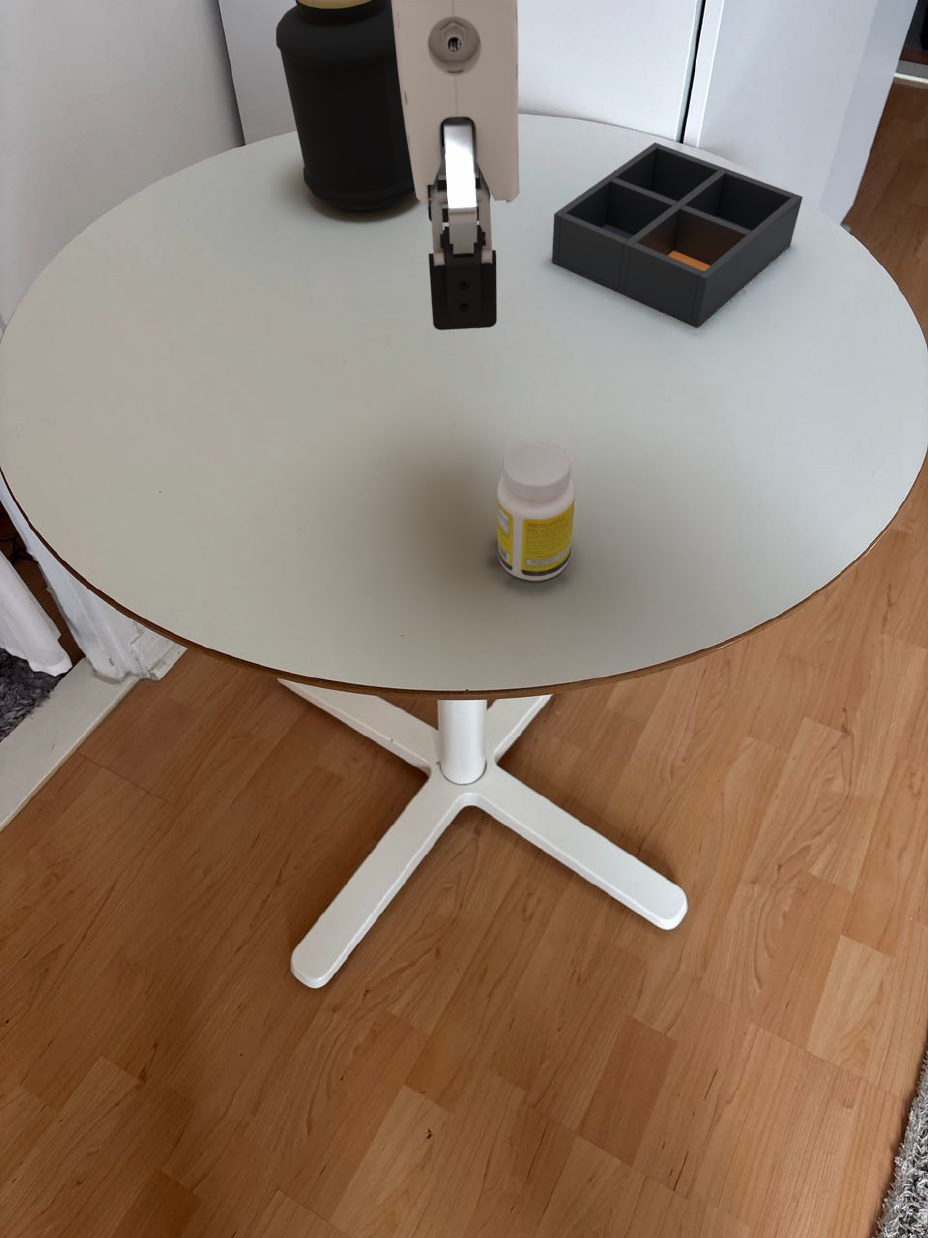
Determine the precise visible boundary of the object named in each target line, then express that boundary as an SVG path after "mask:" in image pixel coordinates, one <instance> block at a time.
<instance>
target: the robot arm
mask: <svg viewBox="0 0 928 1238" xmlns="http://www.w3.org/2000/svg"><path fill="white" fill-rule="evenodd" d="M391 1H392V12H393V23H394V33H395V44H396V54H397V65H398V74H399V82H400V91H401V99H402V107H403V114H404V121H405V128H406V135H407V142H408V148H409V154H410V161H411V167H412V174H413V179H414V185H415V191H414V192H415V196H416V199H417V200H418V201H419V202H420V203H421V204H422V205H424V206H426V207H427V211H428V212H427V213H428V220H429V221H430V222H431V232H432V233H431V234H432V251H433V252H431V253H428V266H429V267H428V268H429V284H430V297H431V310H432V312H431V314H432V325H433V327H434V329H436V330H438V331H450V330H466V329H468V330H469V329H486V328H492V327H494V326H495V325H496V324H497V321H498V317H497V316H498V315H497V314H498V312H497V311H498V310H497V309H498V308H497V307H498V304H497V302H498V301H497V300H498V297H497V291H498V289H497V287H498V286H497V284H498V283H497V250H496V249H493V241H492V217H491V196H492V199H493V200H494V201H495V202H498V201H506V203H509V204H510V203H512V202H513V201H515V199H516V198H517V197H518V196H519V194H520V153H519V151H520V150H519V149H520V148H519V147H520V146H519V143H520V142H519V16H518V15H519V13H518V11H519V9H518V0H391ZM446 223H447V224H448V225H446V226H444V224H446Z"/></svg>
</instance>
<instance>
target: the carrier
mask: <svg viewBox="0 0 928 1238" xmlns="http://www.w3.org/2000/svg"><path fill="white" fill-rule="evenodd" d="M803 197H804V196H802V195H800V194H795V193H794V192H791V191H788V190H785V189H783V188H779V187H777V186H775V185H772V184H770V183H766V182H765V181H761V180H758V179H756V178H753V177H750V176H748V175H745V174H742V173H740V172H736V171H734V170H731V169H729V168H726V167H722V166H721V165H720V166H719V165H718V164H715V163H713V162H709V161H707V160H704V159H701V158H699V157H696V156H694V155H690V154H688V153H685V152H682V151H679V150H677V149H674V148H671V147H668V146H666V145H663V144H661V143H657V142H653V143H652V144H650V145H649V146H648V147H646V148H645V149H643V150H642V151H640V152H639V153H638V154H636V155H635V156H634V157H632V158H631V159H629V160H628V161H626V162H625V163H624V164H622V165H620V166H619V167H618V168H617V169H615V170H614V171H612V172H611V173H609V174H608V175H606V176H605V177H604V178H602V179H601V180H600V181H598V182H597V183H595V184H594V185H592V186H591V187H590V188H588V189H587V190H586V191H584V192H583V193H581V194H580V195H578V196H577V197H576V198H574V199H573V200H572V201H570V202H568V203H567V204H566V205H564V206H563V207H562V208H560V209H559V210H557V211H556V212H555V213H554V214H553V227H552V228H553V231H552V251H551V253H552V254H551V263H553V264H555V265H558V266H560V267H562V268H564V269H566V270H568V271H571V272H573V273H575V274H577V275H580V276H582V277H584V278H587V279H589V280H591V281H593V282H595V283H598V284H599V285H602V286H604V287H606V288H608V289H611V290H613V291H615V292H618V293H620V294H622V295H623V296H626V297H629V298H631V299H633V300H635V301H638V302H640V303H642V304H644V305H646V306H648V307H651V308H653V309H655V310H657V311H660V312H662V313H664V314H666V315H668V316H671V317H673V318H675V319H678V320H680V321H682V322H685V324H688V325H691V326H693V327H694V328H699V327H700V326H701V325H702V324H703V323H705V321H706V320H708V319H709V318H710V317H711V316H712V315H714V313H716V312H717V311H718V310H719V309H720V308H721V307H722V306H724V305H725V304H726V303H728V301H730V299H731V298H733V297H734V296H735V295H736V294H738V293H739V291H741V290H742V289H743V288H744V287H745V286H747V284H749V283H750V282H751V281H752V280H753V279H754V278H755V277H757V276H758V275H759V274H760V273H761V272H762V271H763V270H764V269H766V268H767V267H768V266H769V265H770V264H771V263H773V262H774V260H775V259H777V258H778V257H779V256H780V255H781V254H782V253H783V252H785V251H786V250H787V249H788V248H789V247H790V246H791V244H792V240H793V236H794V232H795V228H796V225H797V220H798V217H799V213H800V209H801V205H802V201H803Z"/></svg>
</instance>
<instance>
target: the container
mask: <svg viewBox="0 0 928 1238" xmlns="http://www.w3.org/2000/svg"><path fill="white" fill-rule="evenodd" d="M294 1H295V3H296V5H294V6H293V7H291V8H290V9H289V10H287V11H286V12H285V13H284V15H282V17H281V19H280V20H279V21H278V23H277V25H276V28H275V44H276V47H277V49H279V51H280V56H281V60H282V61H281V62H282V66H283V70H284V75H285V80H286V85H287V90H288V95H289V100H290V104H291V108H292V109H291V110H292V113H293V118H294V123H295V127H296V131H297V132H296V133H297V137H298V143H299V146H300V151H301V156H302V162H303V169H302V173H303V182H304V184H305V185H306V187H307V188H308V189H309V191H310V192H311V193H312V194H313V196H314V197H315V198H317V199H318V200H321V201H322V202H324V203H326V204H328V205H330V206H332V207H336V208H342V209H346V210H359V211H364V210H365V211H366V210H372V209H381V208H384V207H387V206H391V205H394V204H396V203H398V202H400V201H402V200H403V199H405V198H407V197H409V196H411V195H412V194H413V193H414V192H416V191H415V185H414V179H413V174H412V167H411V161H410V154H409V148H408V142H407V135H406V128H405V121H404V114H403V107H402V99H401V91H400V82H399V74H398V65H397V54H396V44H395V33H394V23H393V12H392V1H391V0H294Z"/></svg>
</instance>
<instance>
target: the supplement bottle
mask: <svg viewBox="0 0 928 1238" xmlns="http://www.w3.org/2000/svg"><path fill="white" fill-rule="evenodd" d="M575 489H576V488H575V484H574V481H573V479H572V478H571V459H570V455H569V454H568V452H567V451H566V450H565V448H563V447H562V446H561V445H559V444H557V443H555V442H553V441H550V440H547V439H539V438H537V439H536V438H535V439H527V440H523V441H521V442H518V443H516V444H514V445H512V447H510V448H509V449H508V451H506V453H505V455H504V458H503V461H502V475H501V477H500V479H499V481H498V485H497V489H496V516H497V517H496V519H497V520H496V521H497V525H496V526H497V557H498V560H499V563H500V565H501V566H502V567H503V568H504V570H505V571H506V572H507V573H509V574H510V575H512V576H514V577H516V578H519V579H522V580H525V581H532V582H537V581H544V580H548V579H551V578H553V577H556V576H557V575H559V574H560V573H561V572H563V570H564V569H565V568H566V567H567V565H568V563H569V561H570V558H571V553H572V552H571V551H572V537H573V527H574V525H573V523H574V510H575V497H576V496H575V495H576V490H575Z"/></svg>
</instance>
